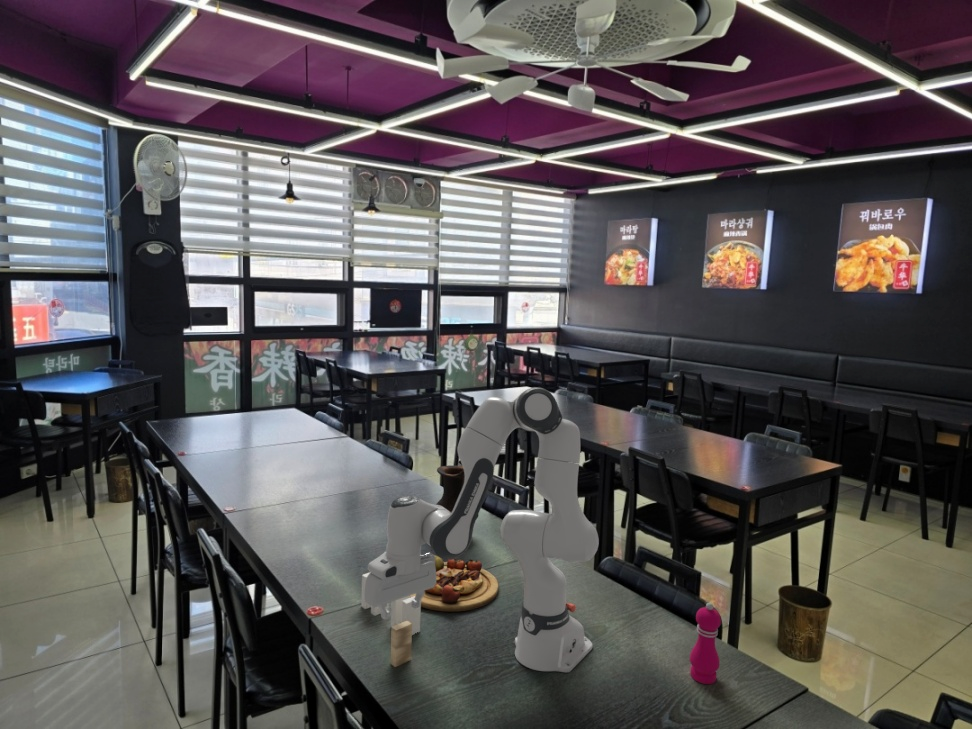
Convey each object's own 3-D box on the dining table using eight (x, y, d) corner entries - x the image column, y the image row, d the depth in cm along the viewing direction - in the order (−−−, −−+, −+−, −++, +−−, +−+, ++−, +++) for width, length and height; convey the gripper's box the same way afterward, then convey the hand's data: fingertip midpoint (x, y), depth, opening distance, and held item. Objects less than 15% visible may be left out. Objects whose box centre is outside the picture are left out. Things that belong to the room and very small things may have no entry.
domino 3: (404, 621, 182) (405, 588, 181) (409, 624, 180) (410, 591, 179) (390, 627, 178) (391, 594, 177) (394, 630, 177) (395, 596, 176)
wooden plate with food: (488, 621, 184) (489, 594, 183) (384, 604, 190) (385, 578, 190) (506, 575, 216) (507, 552, 215) (417, 562, 222) (418, 539, 221)
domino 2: (384, 607, 189) (385, 576, 188) (388, 610, 188) (389, 578, 186) (370, 613, 185) (371, 581, 184) (374, 615, 184) (375, 583, 183)
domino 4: (406, 656, 165) (407, 620, 164) (410, 659, 164) (411, 623, 162) (390, 663, 162) (391, 627, 160) (395, 667, 160) (396, 630, 159)
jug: (422, 531, 248) (425, 457, 244) (465, 525, 256) (468, 453, 252) (442, 552, 229) (444, 472, 225) (487, 545, 237) (491, 468, 233)
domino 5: (415, 628, 178) (416, 595, 177) (419, 631, 177) (421, 597, 176) (401, 634, 175) (402, 600, 174) (405, 637, 173) (406, 603, 172)
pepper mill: (711, 668, 165) (718, 596, 163) (722, 685, 158) (729, 610, 156) (684, 667, 165) (690, 595, 162) (694, 685, 158) (701, 610, 155)
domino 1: (375, 601, 192) (376, 570, 191) (379, 603, 191) (379, 572, 190) (361, 606, 189) (361, 574, 188) (365, 609, 188) (365, 577, 186)
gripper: (427, 547, 169) (425, 596, 170) (362, 565, 155) (360, 619, 156) (442, 554, 164) (440, 605, 166) (376, 574, 150) (374, 629, 152)
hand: (400, 612), depth 161 cm, fingers open, 8 cm apart
